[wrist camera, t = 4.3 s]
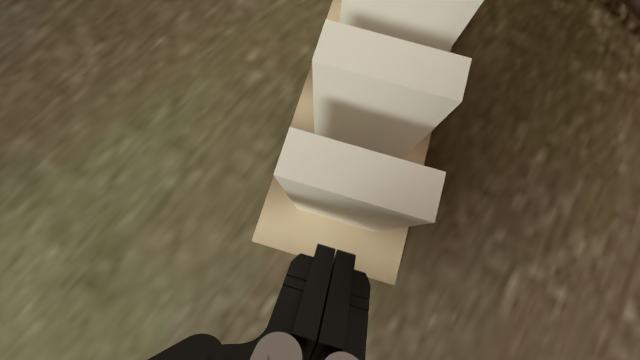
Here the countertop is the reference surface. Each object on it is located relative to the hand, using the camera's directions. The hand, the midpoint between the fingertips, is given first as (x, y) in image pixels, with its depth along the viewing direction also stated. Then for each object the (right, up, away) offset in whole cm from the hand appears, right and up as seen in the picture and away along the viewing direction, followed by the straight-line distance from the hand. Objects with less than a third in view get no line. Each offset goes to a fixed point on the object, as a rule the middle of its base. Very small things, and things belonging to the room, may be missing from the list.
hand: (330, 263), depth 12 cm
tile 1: (+1, +2, +7) cm, 8 cm away
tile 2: (+2, +5, +8) cm, 10 cm away
